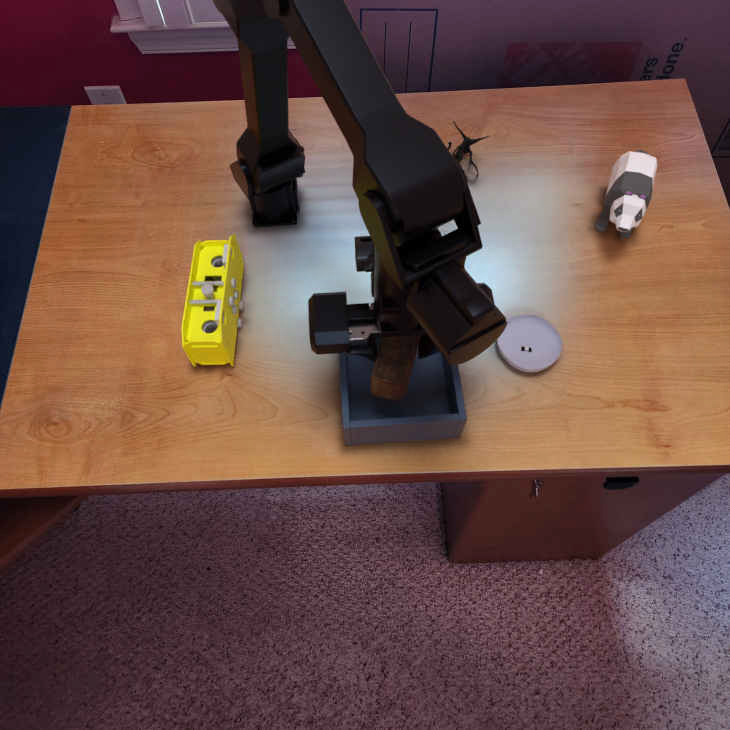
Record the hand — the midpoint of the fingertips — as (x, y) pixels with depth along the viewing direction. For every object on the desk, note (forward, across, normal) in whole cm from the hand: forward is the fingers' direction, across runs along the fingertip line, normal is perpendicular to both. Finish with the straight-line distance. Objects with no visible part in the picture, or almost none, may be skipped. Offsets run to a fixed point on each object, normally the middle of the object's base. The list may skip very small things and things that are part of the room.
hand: (397, 356), depth 66 cm
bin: (+6, 0, 0) cm, 6 cm away
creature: (+4, -14, -37) cm, 40 cm away
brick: (+1, 0, 0) cm, 1 cm away
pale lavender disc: (+6, -17, -3) cm, 19 cm away
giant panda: (+7, -34, -23) cm, 42 cm away
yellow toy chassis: (+7, +22, -11) cm, 26 cm away
